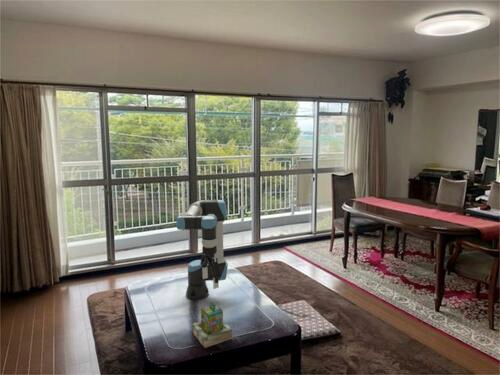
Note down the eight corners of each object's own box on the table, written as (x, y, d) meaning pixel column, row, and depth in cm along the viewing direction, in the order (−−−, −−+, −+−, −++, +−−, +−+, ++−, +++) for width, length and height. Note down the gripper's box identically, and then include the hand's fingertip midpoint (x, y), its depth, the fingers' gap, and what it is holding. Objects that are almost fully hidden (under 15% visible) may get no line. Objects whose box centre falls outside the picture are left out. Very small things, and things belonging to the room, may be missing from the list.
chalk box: (200, 328, 197) (199, 302, 195) (215, 322, 202) (214, 298, 200) (208, 336, 190) (208, 309, 187) (223, 330, 195) (223, 304, 192)
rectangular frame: (192, 332, 200) (192, 323, 199) (218, 324, 208) (218, 315, 207) (204, 348, 186) (204, 338, 185) (232, 338, 194) (231, 329, 193)
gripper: (193, 240, 199) (195, 276, 203) (213, 254, 178) (214, 294, 182) (206, 237, 203) (207, 273, 207) (226, 251, 182) (227, 290, 186)
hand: (210, 283), depth 195 cm, fingers open, 13 cm apart
